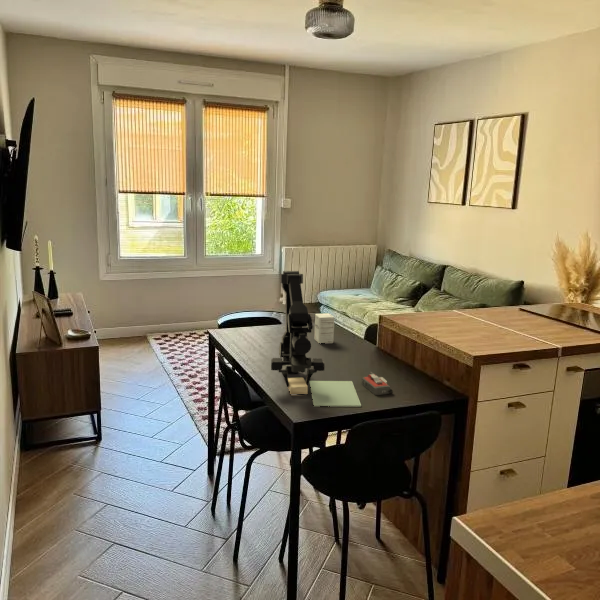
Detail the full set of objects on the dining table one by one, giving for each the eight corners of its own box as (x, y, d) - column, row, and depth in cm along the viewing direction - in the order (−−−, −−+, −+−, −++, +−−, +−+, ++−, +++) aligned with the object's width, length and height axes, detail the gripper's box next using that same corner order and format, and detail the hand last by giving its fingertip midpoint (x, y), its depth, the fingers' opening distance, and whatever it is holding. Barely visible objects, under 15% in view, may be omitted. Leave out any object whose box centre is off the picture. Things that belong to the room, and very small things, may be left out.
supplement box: (313, 339, 254) (314, 313, 251) (328, 338, 256) (329, 313, 253) (318, 344, 247) (319, 317, 244) (333, 343, 249) (334, 316, 246)
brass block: (286, 385, 196) (286, 378, 195) (302, 385, 197) (303, 377, 196) (290, 395, 187) (290, 387, 187) (307, 394, 188) (307, 386, 188)
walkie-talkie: (398, 394, 191) (372, 375, 210) (398, 383, 190) (373, 364, 209) (375, 397, 189) (352, 377, 207) (376, 385, 188) (352, 366, 206)
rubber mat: (309, 382, 200) (309, 380, 200) (352, 382, 201) (352, 381, 201) (313, 406, 179) (313, 405, 179) (361, 406, 180) (361, 405, 179)
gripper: (271, 352, 180) (270, 395, 184) (326, 352, 181) (325, 396, 185) (271, 342, 191) (270, 383, 194) (323, 343, 192) (322, 384, 195)
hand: (297, 387), depth 192 cm, fingers closed on brass block, 6 cm apart
